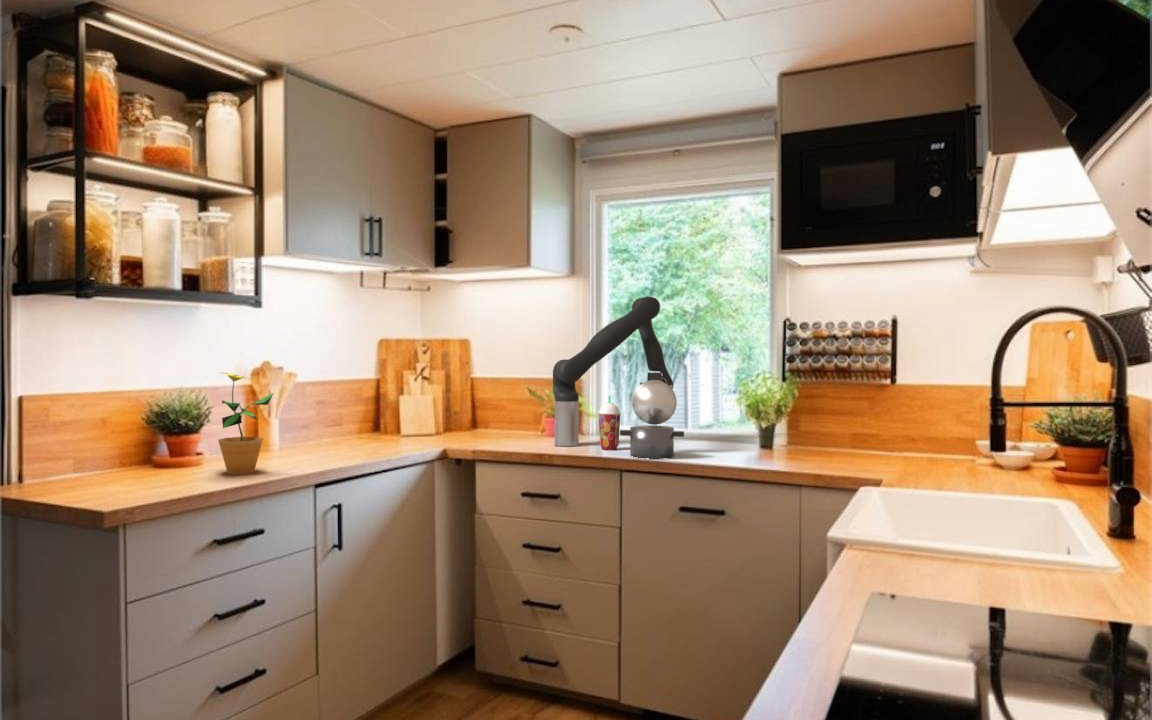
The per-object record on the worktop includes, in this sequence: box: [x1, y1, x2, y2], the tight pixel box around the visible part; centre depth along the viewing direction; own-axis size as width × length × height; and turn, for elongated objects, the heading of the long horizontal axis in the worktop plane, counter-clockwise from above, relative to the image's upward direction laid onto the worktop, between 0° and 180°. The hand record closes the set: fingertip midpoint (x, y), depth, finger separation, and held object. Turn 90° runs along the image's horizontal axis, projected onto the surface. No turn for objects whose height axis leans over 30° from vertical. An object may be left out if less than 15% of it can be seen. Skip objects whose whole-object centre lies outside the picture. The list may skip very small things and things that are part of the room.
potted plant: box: [217, 372, 274, 475], centre depth 229 cm, size 18×19×30 cm
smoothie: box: [597, 395, 622, 451], centre depth 286 cm, size 8×8×20 cm
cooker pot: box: [619, 425, 685, 460], centre depth 268 cm, size 17×22×10 cm
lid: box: [631, 372, 677, 426], centre depth 278 cm, size 19×16×2 cm
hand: (654, 386), depth 279 cm, fingers closed
